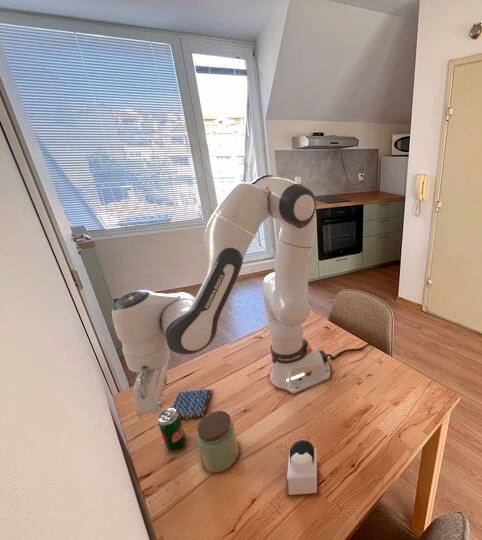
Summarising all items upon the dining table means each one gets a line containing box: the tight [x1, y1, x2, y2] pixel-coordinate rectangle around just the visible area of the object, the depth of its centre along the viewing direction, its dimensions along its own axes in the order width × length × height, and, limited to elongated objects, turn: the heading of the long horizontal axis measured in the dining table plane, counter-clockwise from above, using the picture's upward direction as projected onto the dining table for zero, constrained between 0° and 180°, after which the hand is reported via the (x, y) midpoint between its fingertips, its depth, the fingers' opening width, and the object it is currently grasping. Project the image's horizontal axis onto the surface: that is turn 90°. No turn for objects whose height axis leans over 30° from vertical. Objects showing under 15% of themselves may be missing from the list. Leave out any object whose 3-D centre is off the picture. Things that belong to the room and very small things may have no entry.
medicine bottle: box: [286, 439, 318, 496], centre depth 74 cm, size 7×7×12 cm
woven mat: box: [172, 388, 212, 420], centre depth 96 cm, size 10×11×2 cm
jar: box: [196, 410, 239, 473], centre depth 79 cm, size 9×9×13 cm
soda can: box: [157, 407, 187, 452], centre depth 82 cm, size 5×5×12 cm
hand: (160, 396), depth 77 cm, fingers open, 8 cm apart
